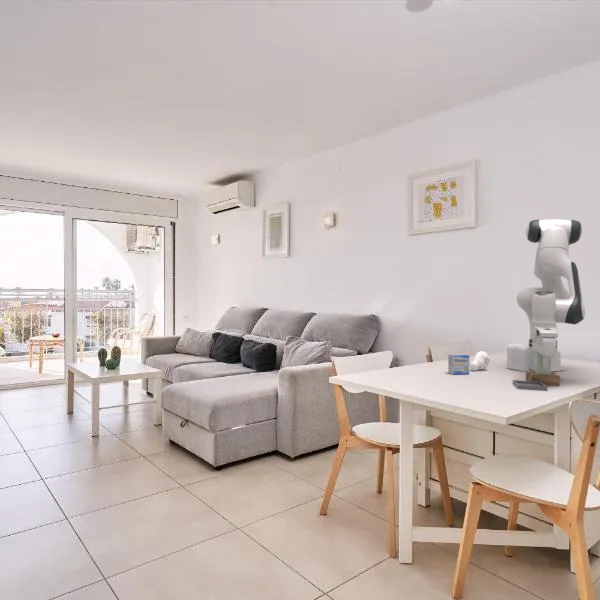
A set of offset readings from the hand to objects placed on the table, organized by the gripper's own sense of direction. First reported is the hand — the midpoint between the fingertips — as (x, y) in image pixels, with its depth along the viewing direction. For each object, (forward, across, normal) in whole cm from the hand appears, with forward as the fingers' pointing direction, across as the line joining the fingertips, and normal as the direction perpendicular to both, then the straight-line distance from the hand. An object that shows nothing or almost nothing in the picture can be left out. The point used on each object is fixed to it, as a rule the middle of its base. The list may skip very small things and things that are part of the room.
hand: (542, 365), depth 183 cm
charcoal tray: (+7, +11, -7) cm, 15 cm away
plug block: (+3, 0, 0) cm, 3 cm away
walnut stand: (+7, 0, 0) cm, 7 cm away
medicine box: (+7, -11, -31) cm, 34 cm away
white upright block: (+7, -31, -3) cm, 32 cm away
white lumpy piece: (+7, -24, -21) cm, 33 cm away
